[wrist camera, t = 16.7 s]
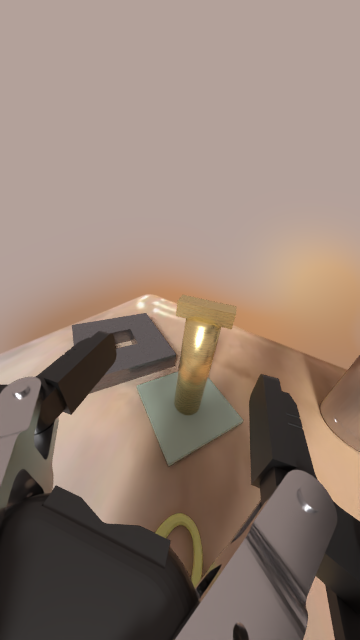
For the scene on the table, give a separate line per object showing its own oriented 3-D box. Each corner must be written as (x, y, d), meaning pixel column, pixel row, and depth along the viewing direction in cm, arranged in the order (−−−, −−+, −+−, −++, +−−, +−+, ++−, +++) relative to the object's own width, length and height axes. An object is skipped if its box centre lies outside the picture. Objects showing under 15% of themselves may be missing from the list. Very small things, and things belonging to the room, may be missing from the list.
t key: (208, 398, 29) (236, 302, 20) (204, 421, 26) (235, 319, 17) (172, 386, 30) (184, 291, 22) (164, 407, 27) (174, 305, 18)
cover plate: (145, 323, 47) (145, 313, 45) (174, 365, 35) (175, 354, 34) (74, 336, 40) (71, 325, 38) (81, 396, 28) (77, 382, 27)
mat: (197, 367, 36) (198, 364, 35) (242, 422, 27) (243, 420, 27) (136, 388, 30) (136, 385, 30) (168, 466, 22) (168, 464, 21)
